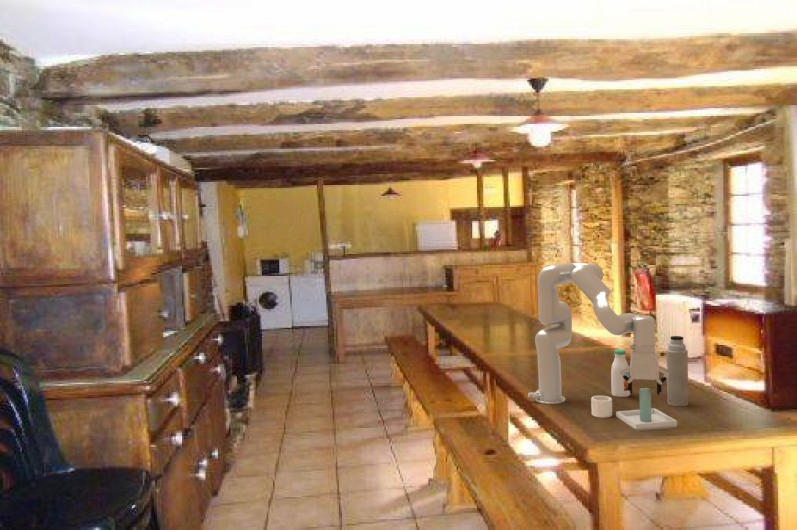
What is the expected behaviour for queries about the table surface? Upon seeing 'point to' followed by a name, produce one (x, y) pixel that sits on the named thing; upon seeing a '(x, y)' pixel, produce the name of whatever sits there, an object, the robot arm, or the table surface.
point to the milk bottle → (619, 375)
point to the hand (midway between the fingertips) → (644, 393)
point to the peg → (645, 404)
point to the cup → (601, 406)
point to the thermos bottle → (677, 372)
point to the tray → (657, 422)
